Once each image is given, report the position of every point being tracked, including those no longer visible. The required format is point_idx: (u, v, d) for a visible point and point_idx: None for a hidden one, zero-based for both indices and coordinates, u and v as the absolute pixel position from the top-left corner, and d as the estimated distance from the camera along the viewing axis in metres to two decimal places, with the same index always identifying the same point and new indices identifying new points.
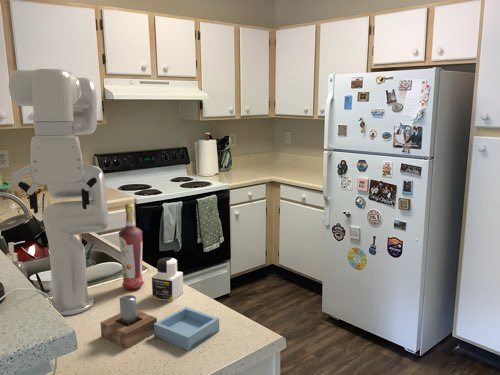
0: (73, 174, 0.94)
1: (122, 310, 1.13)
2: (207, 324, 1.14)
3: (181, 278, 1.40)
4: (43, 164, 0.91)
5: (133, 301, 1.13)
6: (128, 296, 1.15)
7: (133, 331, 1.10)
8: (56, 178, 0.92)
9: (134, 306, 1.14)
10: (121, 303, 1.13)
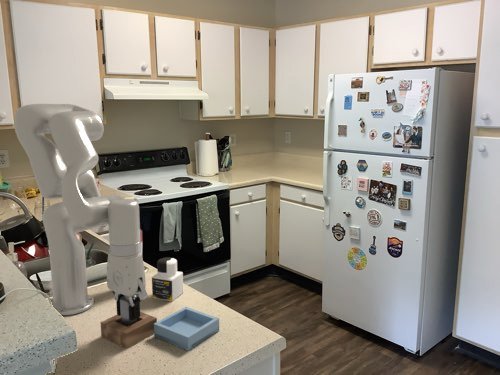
0: None
1: (122, 310, 1.13)
2: (207, 324, 1.14)
3: (181, 278, 1.40)
4: None
5: None
6: None
7: (133, 331, 1.10)
8: None
9: None
10: (121, 303, 1.13)
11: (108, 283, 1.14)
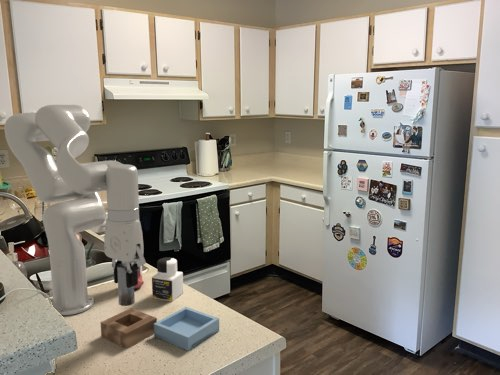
0: None
1: (119, 277, 1.12)
2: (207, 324, 1.14)
3: (181, 278, 1.40)
4: None
5: None
6: (126, 264, 1.14)
7: (133, 331, 1.10)
8: None
9: None
10: (118, 270, 1.12)
11: (105, 250, 1.12)
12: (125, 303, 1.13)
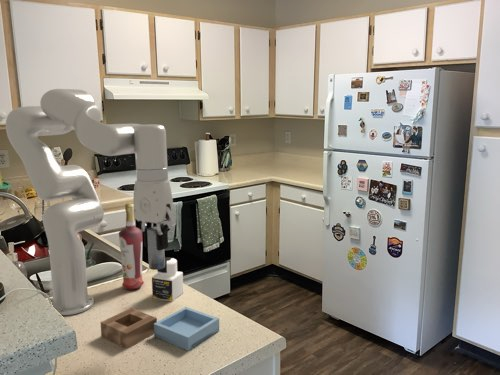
0: None
1: (149, 240, 1.10)
2: (207, 324, 1.14)
3: (181, 278, 1.40)
4: None
5: None
6: (155, 227, 1.12)
7: (133, 331, 1.10)
8: None
9: None
10: (148, 233, 1.10)
11: (135, 213, 1.10)
12: (156, 267, 1.11)
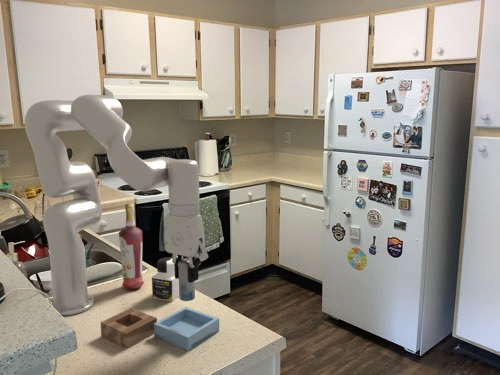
0: None
1: (181, 272, 1.12)
2: (207, 324, 1.14)
3: None
4: None
5: None
6: (186, 259, 1.14)
7: (133, 331, 1.10)
8: None
9: None
10: (180, 265, 1.12)
11: (166, 245, 1.12)
12: (187, 298, 1.13)
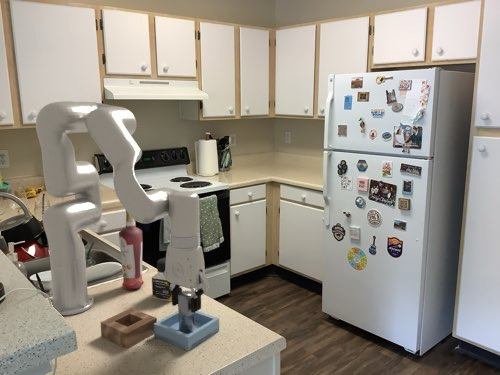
0: None
1: (181, 305, 1.14)
2: (207, 324, 1.14)
3: None
4: None
5: (191, 297, 1.14)
6: (185, 292, 1.16)
7: (133, 331, 1.10)
8: None
9: None
10: (180, 298, 1.13)
11: (167, 275, 1.14)
12: (186, 331, 1.14)
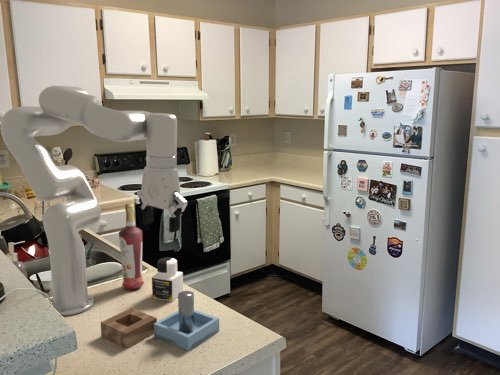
0: None
1: (181, 306, 1.13)
2: (207, 324, 1.14)
3: (181, 278, 1.40)
4: None
5: (192, 297, 1.14)
6: (186, 292, 1.16)
7: (133, 331, 1.10)
8: None
9: (192, 302, 1.14)
10: (180, 299, 1.13)
11: (142, 197, 1.15)
12: (186, 331, 1.14)
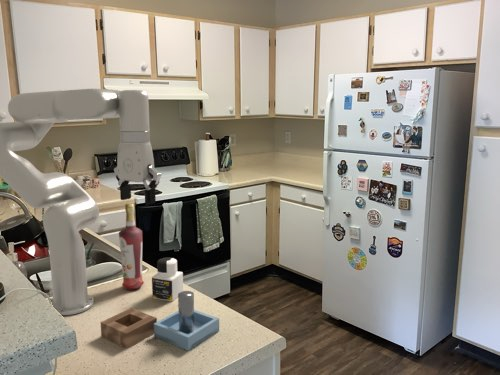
0: None
1: (181, 306, 1.13)
2: (207, 324, 1.14)
3: (181, 278, 1.40)
4: None
5: (192, 297, 1.14)
6: (186, 292, 1.16)
7: (133, 331, 1.10)
8: None
9: (192, 302, 1.14)
10: (180, 299, 1.13)
11: (118, 173, 1.19)
12: (186, 331, 1.14)
